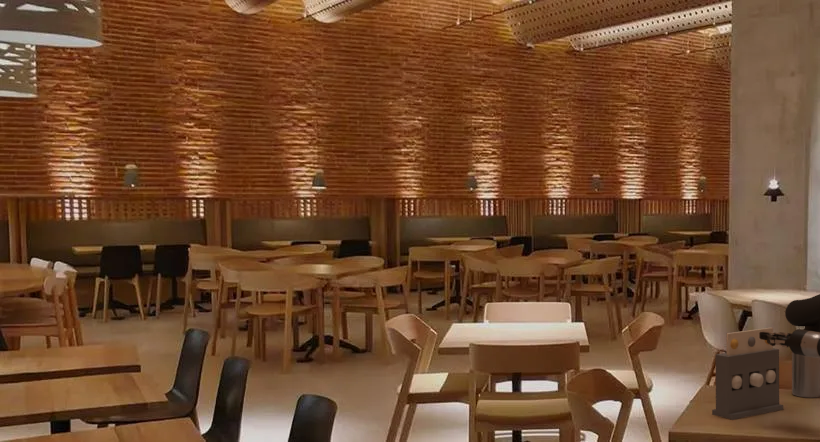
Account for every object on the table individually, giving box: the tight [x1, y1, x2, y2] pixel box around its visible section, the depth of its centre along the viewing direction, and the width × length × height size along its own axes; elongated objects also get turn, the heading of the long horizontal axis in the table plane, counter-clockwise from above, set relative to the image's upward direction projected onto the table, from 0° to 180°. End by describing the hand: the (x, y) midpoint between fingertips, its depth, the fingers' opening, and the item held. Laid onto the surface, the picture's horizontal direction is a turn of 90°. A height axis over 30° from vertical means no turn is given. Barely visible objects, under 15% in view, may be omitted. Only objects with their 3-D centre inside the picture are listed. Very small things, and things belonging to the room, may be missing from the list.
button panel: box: [711, 347, 784, 421], centre depth 277 cm, size 24×8×20 cm, turn 119°
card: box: [726, 327, 774, 356], centre depth 275 cm, size 21×1×7 cm, turn 119°
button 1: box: [732, 375, 742, 389], centre depth 272 cm, size 4×3×4 cm
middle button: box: [749, 372, 764, 387], centre depth 274 cm, size 4×3×4 cm
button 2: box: [766, 369, 776, 383], centre depth 280 cm, size 4×3×4 cm
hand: (761, 335), depth 266 cm, fingers closed
